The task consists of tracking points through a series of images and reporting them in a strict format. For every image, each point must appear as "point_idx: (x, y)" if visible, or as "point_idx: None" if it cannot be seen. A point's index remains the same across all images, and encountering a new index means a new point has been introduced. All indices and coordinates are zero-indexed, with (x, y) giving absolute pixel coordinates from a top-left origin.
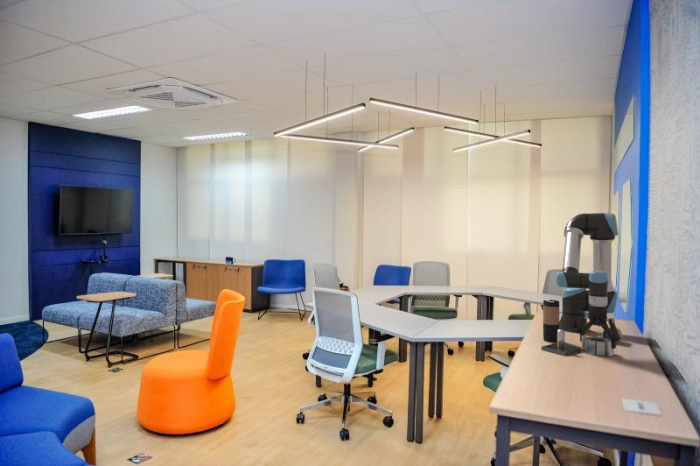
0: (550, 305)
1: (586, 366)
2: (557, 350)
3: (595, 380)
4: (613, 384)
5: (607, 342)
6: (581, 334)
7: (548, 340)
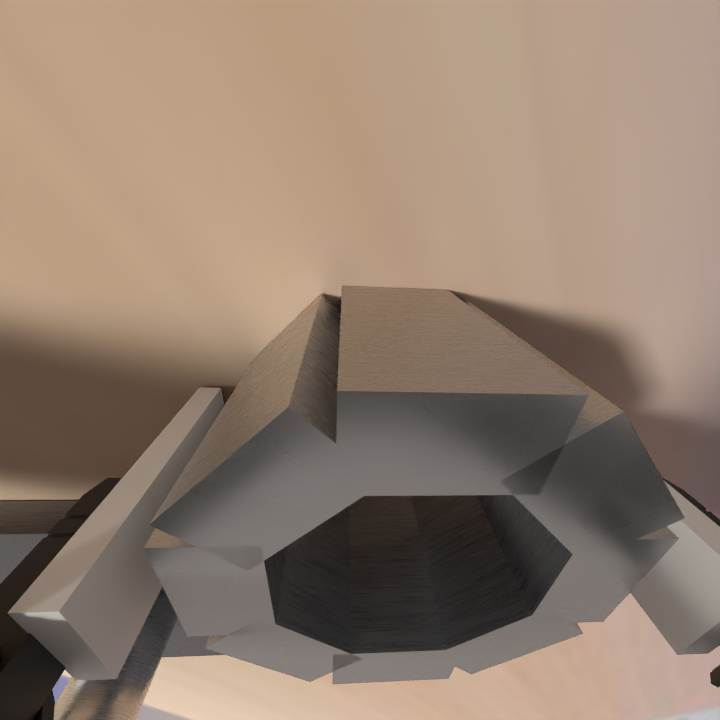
0: None
1: None
2: (216, 654)
3: (548, 704)
4: (608, 696)
5: (613, 597)
6: (43, 709)
7: None
